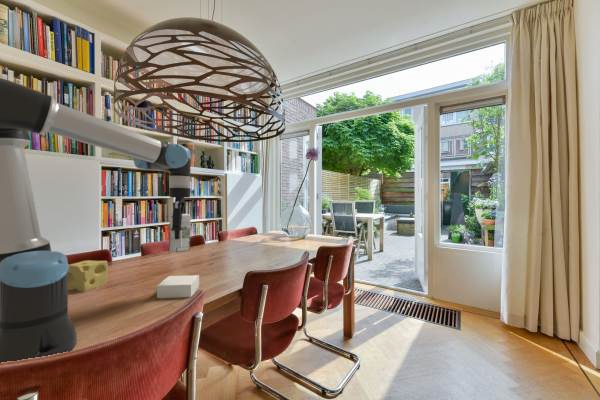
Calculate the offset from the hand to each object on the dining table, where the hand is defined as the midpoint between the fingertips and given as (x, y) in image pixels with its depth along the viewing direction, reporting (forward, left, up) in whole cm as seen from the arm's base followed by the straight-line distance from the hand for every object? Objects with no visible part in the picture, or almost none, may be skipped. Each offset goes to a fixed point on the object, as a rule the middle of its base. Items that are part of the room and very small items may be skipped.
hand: (179, 245), depth 106 cm
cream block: (0, 0, -19) cm, 19 cm away
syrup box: (0, 0, -2) cm, 2 cm away
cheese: (+14, +38, -19) cm, 45 cm away
